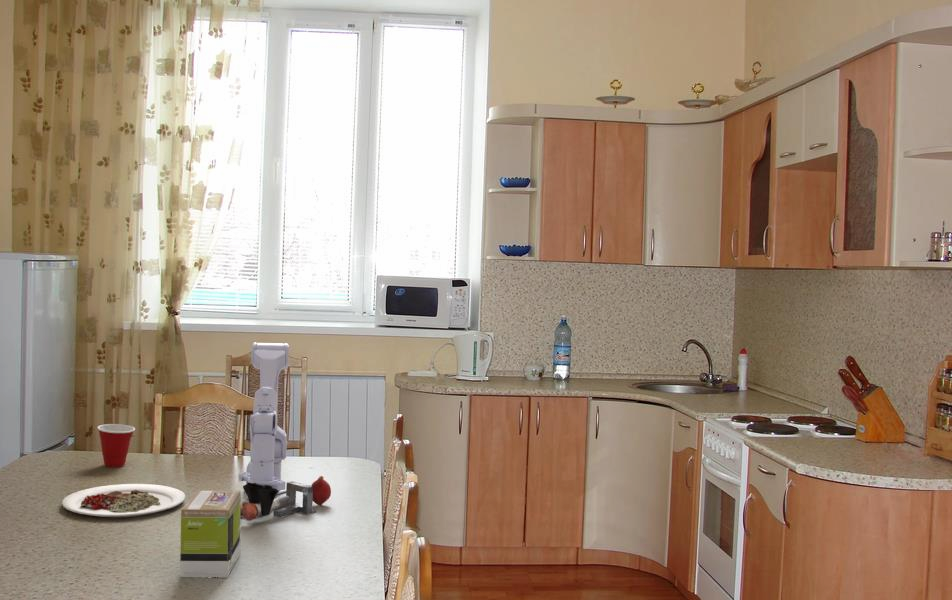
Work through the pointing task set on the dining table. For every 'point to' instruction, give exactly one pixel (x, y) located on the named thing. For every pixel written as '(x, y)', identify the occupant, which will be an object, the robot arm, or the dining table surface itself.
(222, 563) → the tea box
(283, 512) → the eye bracket
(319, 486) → the pomegranate
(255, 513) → the copper capped rod
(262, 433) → the robot arm
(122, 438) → the plastic cup
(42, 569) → the dining table surface
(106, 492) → the plated food
